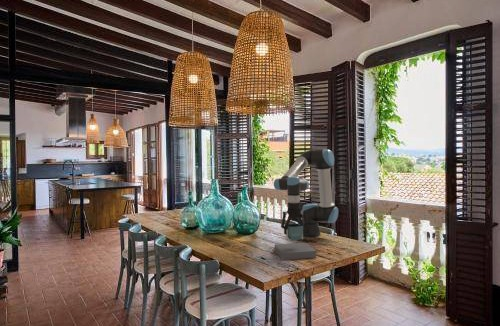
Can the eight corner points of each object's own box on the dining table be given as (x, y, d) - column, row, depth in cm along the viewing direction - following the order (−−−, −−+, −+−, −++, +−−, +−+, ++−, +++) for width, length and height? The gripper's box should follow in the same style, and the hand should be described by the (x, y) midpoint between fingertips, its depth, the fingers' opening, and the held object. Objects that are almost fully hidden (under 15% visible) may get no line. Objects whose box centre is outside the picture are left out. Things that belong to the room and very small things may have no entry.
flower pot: (290, 242, 201) (290, 226, 201) (284, 238, 209) (284, 224, 209) (303, 240, 203) (303, 226, 203) (298, 237, 212) (297, 223, 212)
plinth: (304, 248, 218) (304, 242, 218) (316, 257, 198) (316, 250, 198) (274, 250, 215) (274, 244, 215) (283, 260, 195) (282, 253, 195)
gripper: (278, 203, 200) (278, 241, 201) (312, 202, 204) (313, 239, 204) (275, 202, 208) (275, 238, 208) (308, 200, 211) (309, 236, 212)
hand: (294, 239), depth 206 cm, fingers closed on flower pot, 9 cm apart
